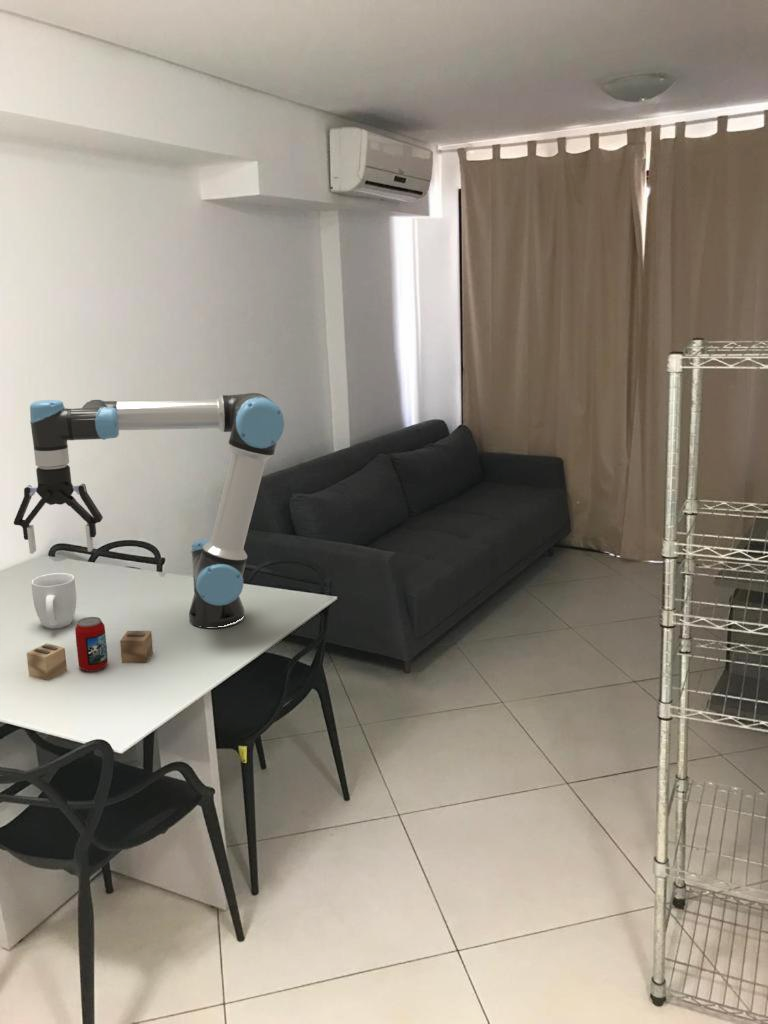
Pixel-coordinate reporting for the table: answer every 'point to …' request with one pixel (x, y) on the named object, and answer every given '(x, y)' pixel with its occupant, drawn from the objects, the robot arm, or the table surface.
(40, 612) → the mug
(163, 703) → the table surface
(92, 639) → the beverage can
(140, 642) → the wooden minus sign cube
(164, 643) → the table surface
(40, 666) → the wooden equals sign cube
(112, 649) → the table surface
